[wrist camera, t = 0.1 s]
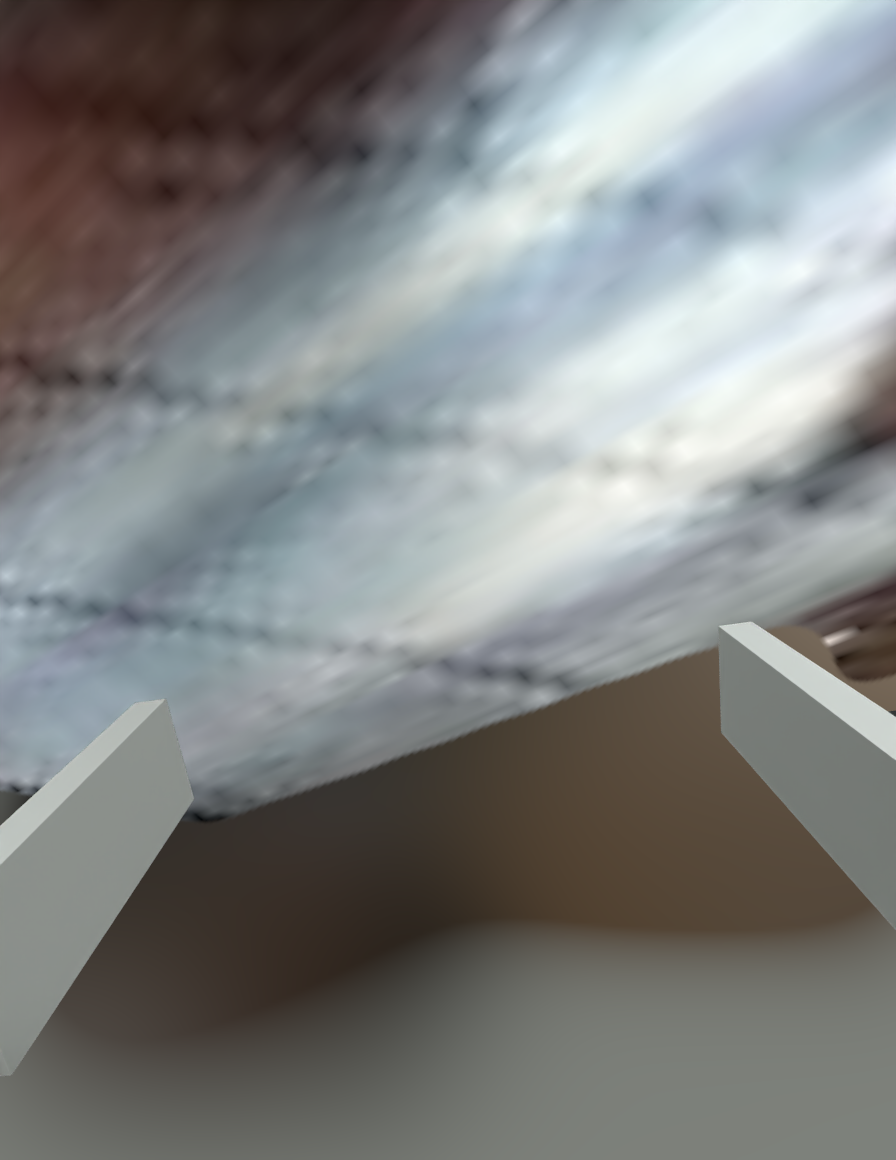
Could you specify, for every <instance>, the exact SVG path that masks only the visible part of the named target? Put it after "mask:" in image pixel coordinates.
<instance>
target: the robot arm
mask: <svg viewBox="0 0 896 1160" xmlns="http://www.w3.org/2000/svg"><path fill="white" fill-rule="evenodd" d="M718 631H719V667H720V706H721V732H722V734H723V735H724V736H725V737H726V738H727V739H728V741H729V742H730V743H731V744H732V745H733V746H734V747H735V748H736V750H737V751H738V752H739V753H740V754H741V755H742V756H743V757H744V759H745V760H746V761H747V762H748V763H749V764H750V765H751V767H752V768H753V769H754V770H755V771H756V772H757V773H758V775H759V776H760V777H761V778H762V779H763V780H764V781H765V782H766V784H768V786H769V787H770V788H771V789H772V790H773V792H774V793H775V794H776V795H777V796H778V797H779V798H780V800H781V801H782V802H783V803H784V804H785V805H786V806H787V807H788V809H789V810H790V811H791V812H792V813H793V814H794V815H795V816H796V818H797V819H798V820H799V821H800V822H801V823H802V824H803V826H804V827H805V828H806V829H807V830H808V831H809V832H810V834H811V835H812V836H813V837H814V838H815V839H816V840H817V841H818V842H819V844H820V845H821V846H822V847H823V848H824V849H825V851H826V852H827V853H828V854H829V855H830V856H831V857H832V858H833V859H834V861H835V862H836V863H837V864H838V865H839V866H840V868H841V869H842V870H843V871H844V872H845V873H846V874H847V875H848V876H849V878H850V879H851V880H852V881H853V882H854V883H855V885H857V887H858V888H859V889H860V890H861V891H862V892H863V893H864V895H865V896H866V897H867V898H868V899H869V900H870V902H871V903H872V904H873V905H874V906H875V907H876V908H877V909H878V910H879V912H880V913H881V914H882V915H883V916H884V917H885V919H886V920H887V921H888V922H889V923H890V924H891V925H892V926H893V928H894V929H895V930H896V711H890V712H887V711H886V710H884V709H883V708H881V707H880V706H878V705H877V704H875V703H874V702H872V701H871V700H869V699H868V698H866V697H865V696H863V695H862V694H860V693H859V692H857V691H855V690H854V689H853V688H851V687H850V686H848V685H846V684H845V683H844V682H842V681H841V680H839V679H837V678H836V677H834V676H833V675H831V674H830V673H828V672H827V671H825V670H824V669H822V668H821V667H819V666H818V665H816V664H815V663H813V662H812V661H810V660H809V659H807V658H806V657H804V656H803V655H801V654H800V653H798V652H797V651H795V650H794V649H792V648H790V647H789V646H787V645H786V644H785V643H783V642H781V641H780V640H778V639H777V638H775V637H774V636H772V635H771V634H769V633H768V632H766V631H765V630H763V629H762V628H760V627H759V626H757V625H756V624H754V623H753V622H746V623H738V624H730V625H723V626H718ZM193 800H194V796H193V793H192V789H191V786H190V782H189V779H188V775H187V771H186V768H185V764H184V761H183V757H182V754H181V750H180V746H179V743H178V739H177V736H176V732H175V729H174V725H173V722H172V718H171V714H170V711H169V707H168V704H167V700H166V699H160V700H152V701H144V702H137V703H134V704H133V705H132V706H131V707H130V708H129V709H127V710H126V711H125V712H124V713H123V714H122V715H121V716H120V717H119V718H118V719H116V720H115V721H114V722H113V723H112V724H111V725H110V726H109V727H108V728H107V729H106V730H104V731H103V732H102V733H101V734H100V735H99V736H98V737H97V738H96V739H95V740H94V741H92V742H91V743H90V744H89V745H88V746H87V747H86V748H85V749H84V750H83V751H82V752H80V753H79V754H78V755H77V756H76V757H75V758H74V759H73V760H72V761H71V762H70V763H68V764H67V765H66V766H65V767H64V768H63V769H62V770H61V771H60V772H59V773H57V774H56V775H55V776H54V777H53V778H52V779H51V780H50V781H49V782H48V783H47V784H45V785H44V786H43V787H42V788H41V789H40V790H39V791H38V792H37V793H36V794H35V795H33V796H32V797H31V798H30V799H29V800H28V801H27V802H26V803H25V804H24V805H23V806H21V808H19V809H18V810H17V811H16V812H15V813H14V814H13V815H12V816H11V817H9V819H7V820H6V821H5V822H4V823H3V824H2V825H1V826H0V1076H9V1075H12V1074H13V1073H14V1071H15V1070H16V1068H17V1066H18V1065H19V1063H20V1062H21V1060H22V1059H23V1057H24V1056H25V1054H26V1053H27V1051H28V1050H29V1048H30V1047H31V1045H32V1044H33V1042H34V1041H35V1039H36V1038H37V1036H38V1034H39V1033H40V1032H41V1030H42V1028H43V1027H44V1025H45V1024H46V1022H47V1021H48V1019H49V1018H50V1016H51V1015H52V1013H53V1012H54V1010H55V1009H56V1007H57V1006H58V1004H59V1003H60V1001H61V999H62V998H63V997H64V995H65V994H66V992H67V990H68V989H69V988H70V986H71V985H72V983H73V982H74V980H75V979H76V977H77V975H78V974H79V972H80V971H81V970H82V968H83V966H84V965H85V963H86V962H87V960H88V959H89V957H90V955H91V954H92V953H93V951H94V950H95V948H96V947H97V945H98V944H99V942H100V941H101V939H102V938H103V936H104V935H105V933H106V932H107V930H108V929H109V927H110V926H111V924H112V922H113V921H114V919H115V918H116V916H117V915H118V913H119V912H120V910H121V909H122V907H123V906H124V904H125V903H126V901H127V900H128V898H129V897H130V895H131V894H132V892H133V891H134V889H135V888H136V886H137V885H138V883H139V882H140V880H141V879H142V877H143V876H144V874H145V873H146V871H147V869H148V868H149V866H150V865H151V863H152V862H153V860H154V859H155V857H156V856H157V854H158V853H159V851H160V850H161V848H162V847H163V845H164V844H165V842H166V841H167V839H168V837H169V836H170V835H171V833H172V831H173V830H174V829H175V827H176V826H177V824H178V822H179V821H180V819H181V818H182V816H183V815H184V813H185V812H186V810H187V809H188V807H189V806H190V804H191V803H192V801H193Z"/></svg>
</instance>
